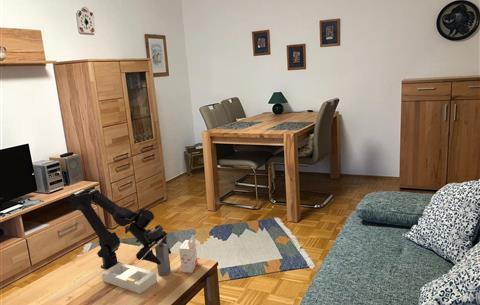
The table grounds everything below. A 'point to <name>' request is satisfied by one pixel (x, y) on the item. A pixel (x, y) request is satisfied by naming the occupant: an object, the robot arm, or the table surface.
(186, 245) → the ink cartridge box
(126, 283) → the socket block
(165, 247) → the plug
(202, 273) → the table surface
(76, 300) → the table surface
